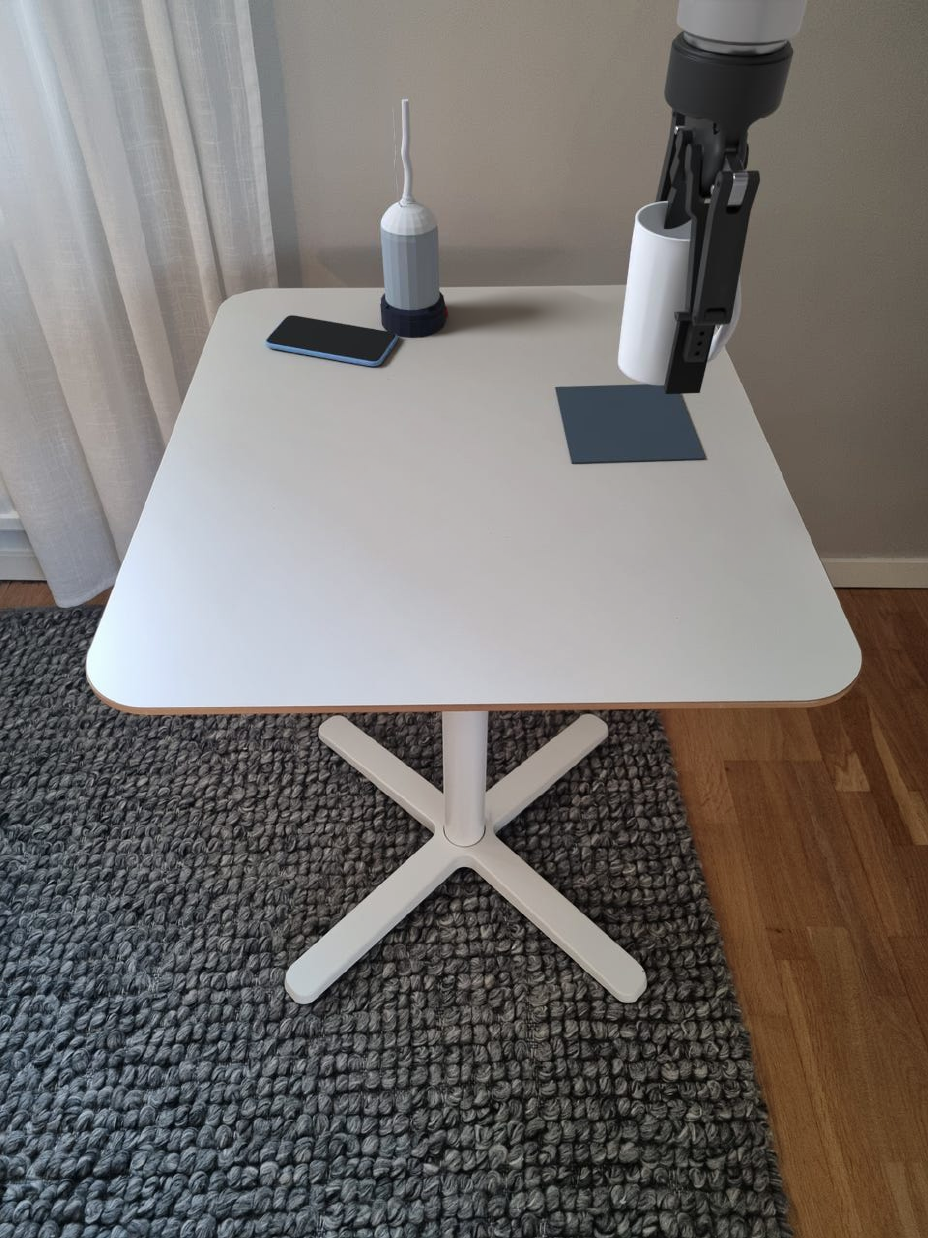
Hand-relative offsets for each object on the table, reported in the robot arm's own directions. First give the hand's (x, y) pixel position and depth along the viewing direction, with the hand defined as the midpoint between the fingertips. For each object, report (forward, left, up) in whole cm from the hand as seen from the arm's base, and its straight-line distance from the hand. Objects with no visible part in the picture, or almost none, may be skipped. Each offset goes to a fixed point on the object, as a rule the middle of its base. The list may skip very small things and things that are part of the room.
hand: (669, 359), depth 71 cm
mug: (-1, 0, -1) cm, 1 cm away
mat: (+16, -2, -18) cm, 24 cm away
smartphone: (+34, +31, -18) cm, 50 cm away
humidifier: (+39, +21, -18) cm, 48 cm away
